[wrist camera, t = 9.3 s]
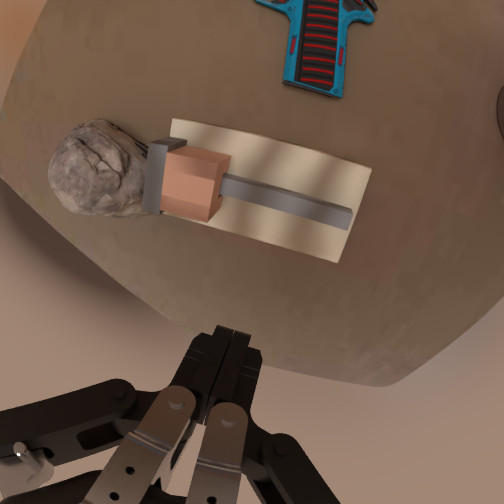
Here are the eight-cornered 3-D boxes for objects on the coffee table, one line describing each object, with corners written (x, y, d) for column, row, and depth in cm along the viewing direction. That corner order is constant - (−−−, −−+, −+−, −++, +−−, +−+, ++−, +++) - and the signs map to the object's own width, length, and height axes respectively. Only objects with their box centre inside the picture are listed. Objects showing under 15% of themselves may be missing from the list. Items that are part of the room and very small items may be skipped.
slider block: (231, 155, 30) (218, 163, 26) (220, 207, 33) (207, 223, 29) (185, 145, 31) (166, 152, 27) (178, 196, 33) (159, 209, 29)
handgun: (335, 109, 28) (391, -3, 21) (337, 109, 26) (397, -12, 18) (146, 38, 28) (197, -62, 20) (133, 35, 25) (188, -72, 18)
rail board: (369, 167, 30) (381, 180, 24) (337, 258, 35) (340, 286, 30) (177, 117, 31) (151, 121, 26) (164, 208, 36) (140, 228, 31)
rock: (187, 163, 33) (143, 186, 24) (145, 240, 39) (102, 279, 30) (95, 102, 31) (37, 109, 23) (66, 179, 37) (15, 203, 28)
